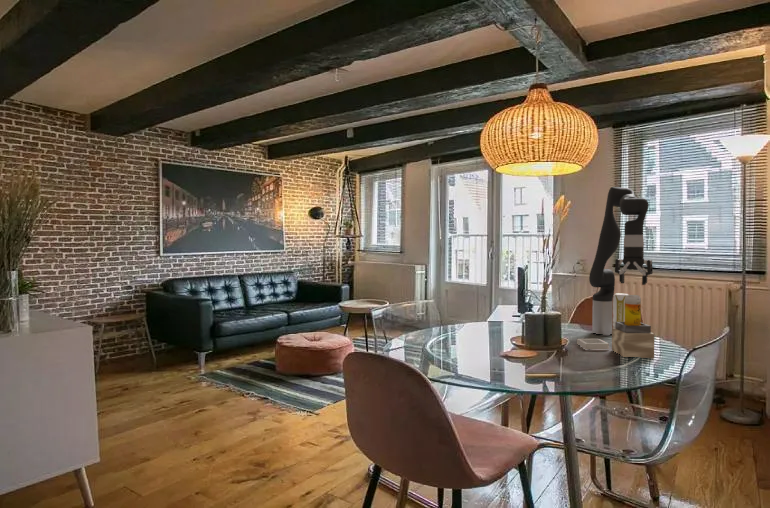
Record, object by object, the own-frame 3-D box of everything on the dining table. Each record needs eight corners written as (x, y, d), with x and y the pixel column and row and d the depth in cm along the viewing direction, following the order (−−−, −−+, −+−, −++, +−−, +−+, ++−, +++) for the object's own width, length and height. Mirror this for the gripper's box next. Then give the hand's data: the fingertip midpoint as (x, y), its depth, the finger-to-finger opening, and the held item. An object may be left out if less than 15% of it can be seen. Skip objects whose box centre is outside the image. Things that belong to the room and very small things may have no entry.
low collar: (577, 345, 223) (577, 338, 223) (599, 345, 223) (599, 338, 223) (585, 350, 213) (585, 343, 213) (608, 350, 213) (608, 343, 213)
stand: (611, 350, 212) (612, 321, 211) (639, 350, 211) (639, 321, 211) (624, 357, 200) (625, 326, 199) (654, 357, 199) (654, 326, 199)
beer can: (636, 332, 201) (637, 296, 200) (621, 330, 206) (622, 295, 205) (643, 330, 205) (643, 295, 204) (628, 328, 209) (628, 294, 209)
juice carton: (629, 328, 261) (629, 293, 260) (627, 331, 253) (628, 295, 253) (614, 327, 265) (614, 292, 264) (612, 330, 257) (612, 294, 257)
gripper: (612, 245, 206) (612, 283, 207) (648, 246, 196) (648, 285, 197) (619, 245, 211) (619, 282, 212) (655, 245, 201) (654, 284, 202)
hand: (633, 284), depth 204 cm, fingers open, 8 cm apart
